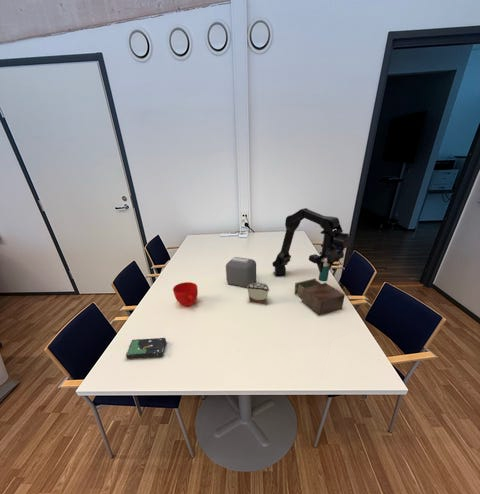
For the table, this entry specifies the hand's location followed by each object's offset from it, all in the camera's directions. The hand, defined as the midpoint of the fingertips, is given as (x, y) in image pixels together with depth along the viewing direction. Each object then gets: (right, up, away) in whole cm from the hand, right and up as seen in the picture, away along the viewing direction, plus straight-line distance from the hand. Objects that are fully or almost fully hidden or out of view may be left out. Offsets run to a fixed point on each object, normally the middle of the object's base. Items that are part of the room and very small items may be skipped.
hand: (324, 271), depth 146 cm
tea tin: (0, -4, +3) cm, 5 cm away
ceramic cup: (-75, -19, 0) cm, 77 cm away
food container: (-36, -16, +2) cm, 39 cm away
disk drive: (-87, -40, -31) cm, 101 cm away
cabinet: (-3, -19, -5) cm, 20 cm away
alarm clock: (-46, -4, +21) cm, 51 cm away
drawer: (-7, -13, +3) cm, 15 cm away
